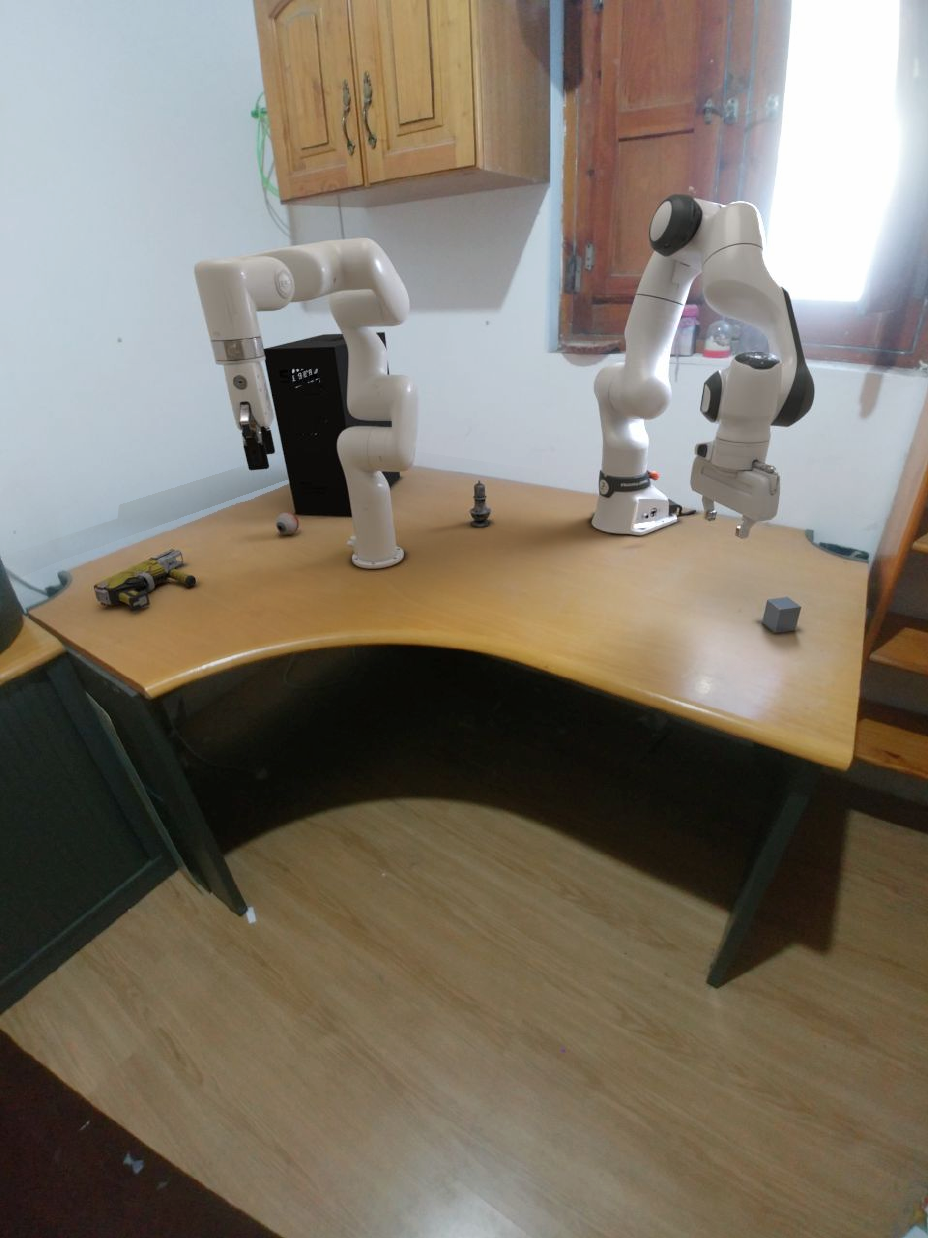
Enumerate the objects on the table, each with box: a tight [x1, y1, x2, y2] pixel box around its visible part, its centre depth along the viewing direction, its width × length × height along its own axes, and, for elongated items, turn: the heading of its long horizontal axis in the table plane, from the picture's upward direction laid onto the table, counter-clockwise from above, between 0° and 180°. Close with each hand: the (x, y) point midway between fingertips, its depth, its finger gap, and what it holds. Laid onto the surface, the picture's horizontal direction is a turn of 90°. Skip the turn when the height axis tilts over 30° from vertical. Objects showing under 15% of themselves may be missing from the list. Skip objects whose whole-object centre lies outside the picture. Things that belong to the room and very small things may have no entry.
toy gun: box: [93, 548, 197, 612], centre depth 139 cm, size 5×24×15 cm
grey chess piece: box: [469, 479, 492, 528], centre depth 162 cm, size 6×6×12 cm
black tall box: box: [264, 331, 401, 517], centre depth 181 cm, size 38×20×45 cm, turn 167°
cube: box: [761, 596, 802, 634], centre depth 111 cm, size 4×4×5 cm
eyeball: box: [275, 511, 300, 536], centre depth 163 cm, size 6×6×6 cm
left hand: (262, 461), depth 102 cm, fingers open, 9 cm apart
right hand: (724, 528), depth 113 cm, fingers open, 8 cm apart
